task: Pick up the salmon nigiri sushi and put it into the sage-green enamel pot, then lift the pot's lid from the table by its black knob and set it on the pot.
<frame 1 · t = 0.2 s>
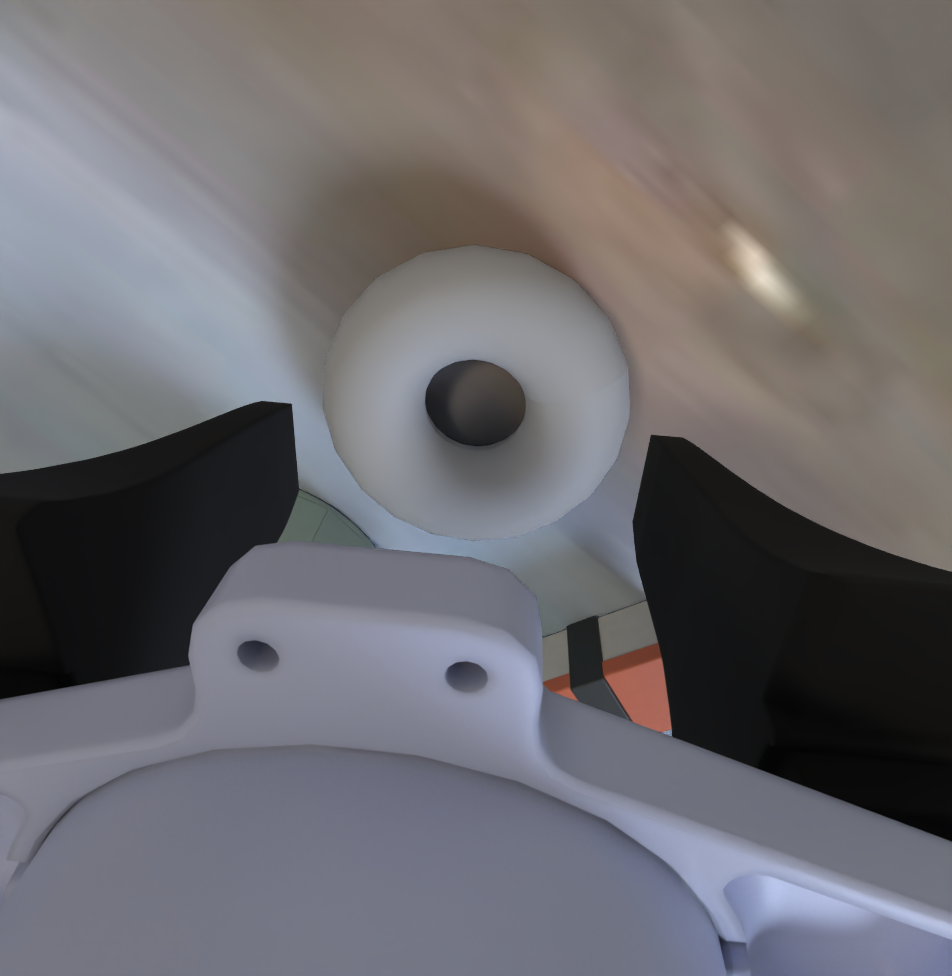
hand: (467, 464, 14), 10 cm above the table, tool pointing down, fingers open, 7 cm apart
sushi: (600, 651, 29), on the table
pot: (256, 600, 29), on the table
donut: (479, 384, 24), on the table
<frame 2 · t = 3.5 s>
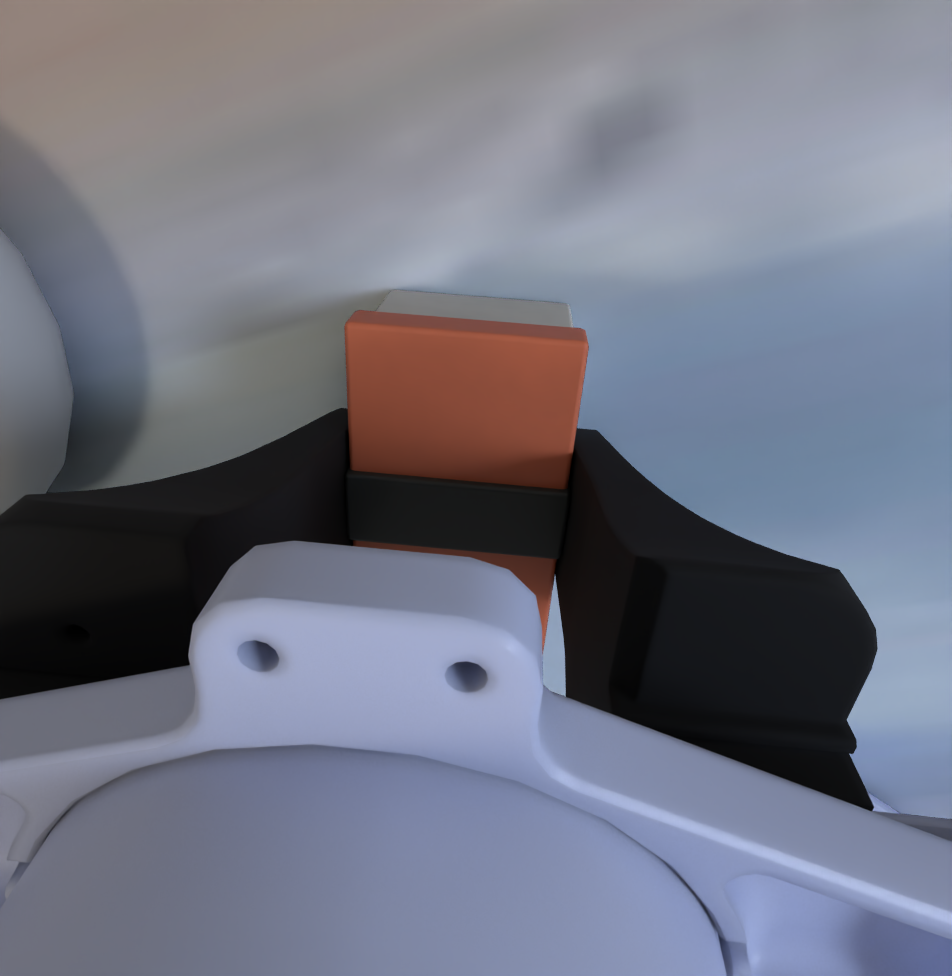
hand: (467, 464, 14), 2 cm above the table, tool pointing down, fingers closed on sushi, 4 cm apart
sushi: (471, 431, 15), on the table, touching gripper
when the fingers open (2 cm above the table, at t = 8.8 s): sushi stays where it is, resting on pot.
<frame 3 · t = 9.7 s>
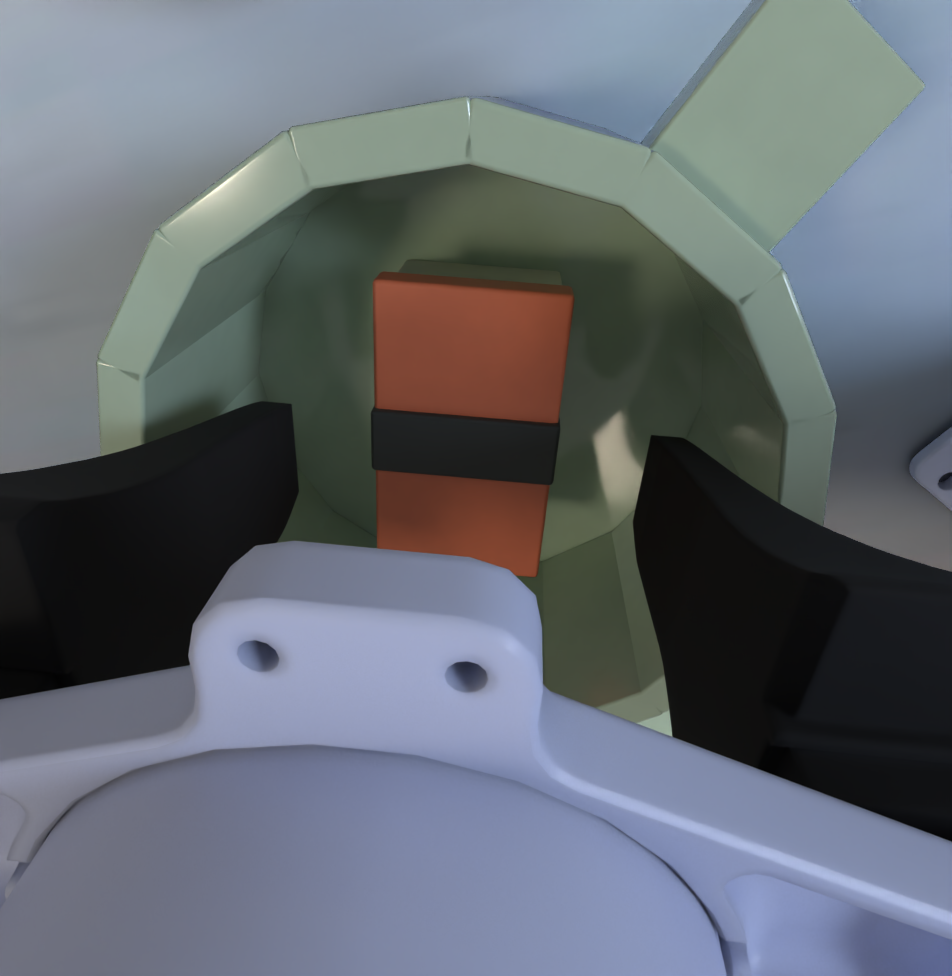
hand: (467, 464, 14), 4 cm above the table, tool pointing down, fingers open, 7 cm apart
sushi: (475, 386, 17), resting on pot
pot: (478, 382, 17), on the table
pot lid: (579, 788, 24), point 1 cm above the table
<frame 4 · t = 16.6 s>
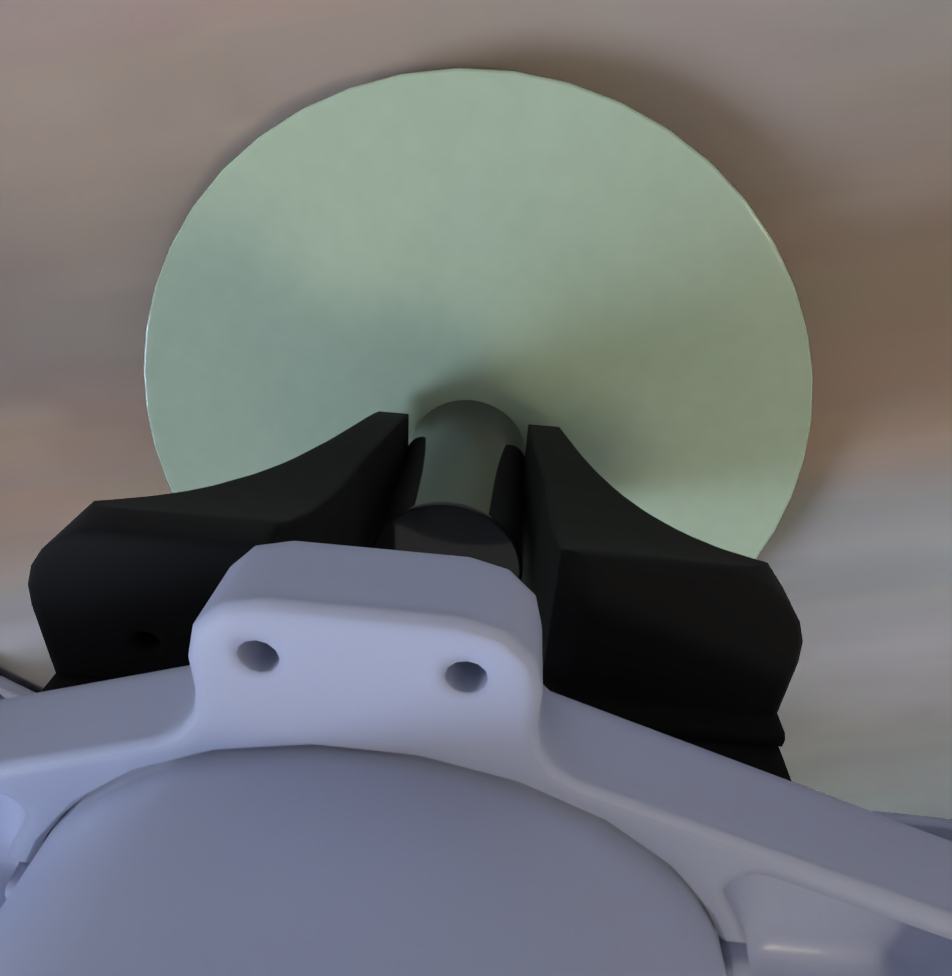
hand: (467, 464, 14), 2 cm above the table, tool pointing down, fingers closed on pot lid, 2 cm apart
pot lid: (469, 441, 14), point 1 cm above the table, touching gripper
when the fingers open (7 cm above the table, at t = 20.2 s): pot lid stays where it is, resting on pot.
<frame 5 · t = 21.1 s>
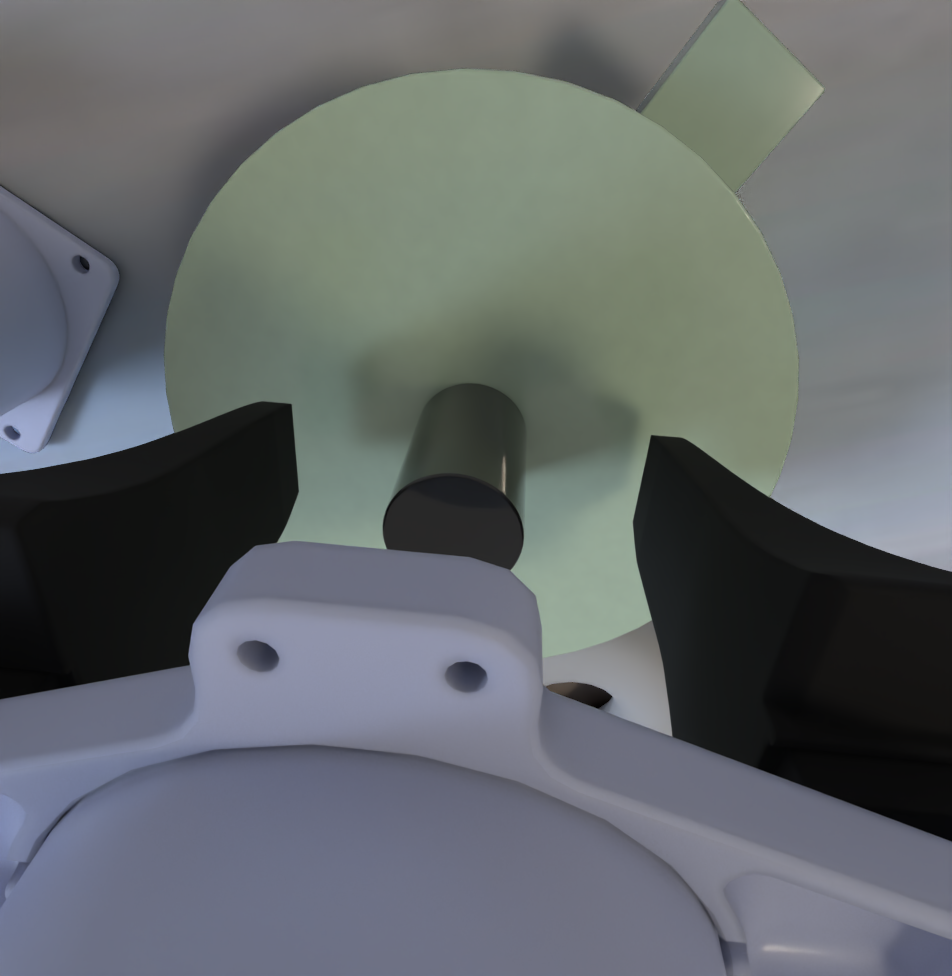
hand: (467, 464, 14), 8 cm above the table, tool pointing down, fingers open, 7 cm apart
pot: (490, 337, 21), on the table
pot lid: (473, 424, 15), point 6 cm above the table, touching pot
donut: (567, 664, 27), on the table
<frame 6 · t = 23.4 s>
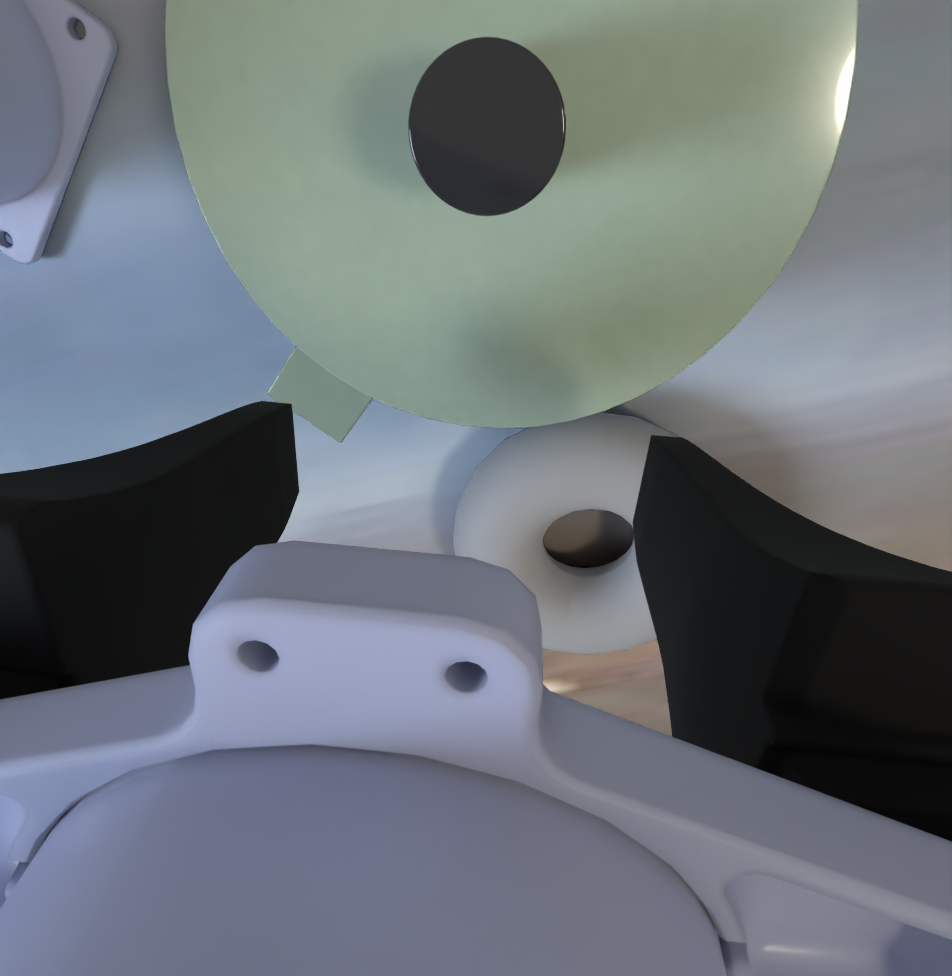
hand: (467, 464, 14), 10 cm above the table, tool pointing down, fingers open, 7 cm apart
pot: (510, 115, 20), on the table
pot lid: (499, 122, 14), point 6 cm above the table, touching pot
donut: (585, 513, 26), on the table
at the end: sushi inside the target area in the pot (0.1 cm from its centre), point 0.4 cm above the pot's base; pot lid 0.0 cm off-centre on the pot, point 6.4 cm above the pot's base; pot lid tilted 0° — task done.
